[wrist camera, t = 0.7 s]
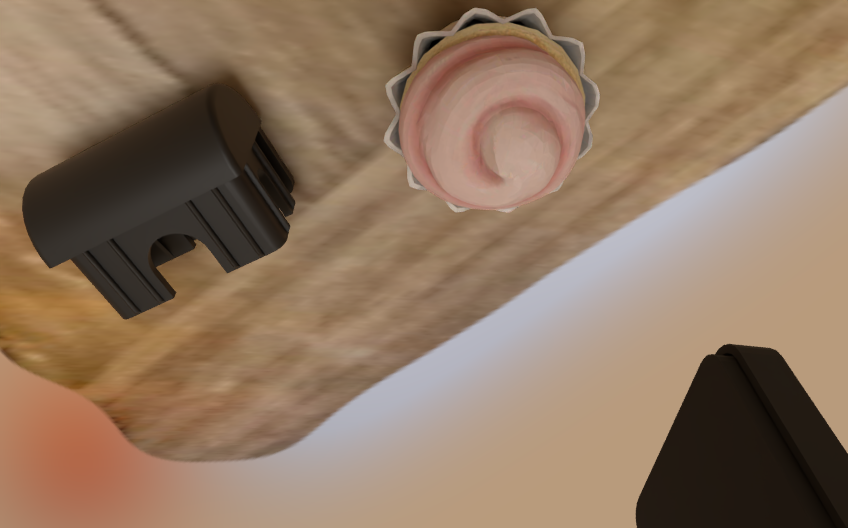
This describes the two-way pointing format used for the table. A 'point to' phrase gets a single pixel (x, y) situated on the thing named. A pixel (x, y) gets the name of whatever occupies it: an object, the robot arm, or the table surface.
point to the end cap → (163, 198)
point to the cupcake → (492, 111)
